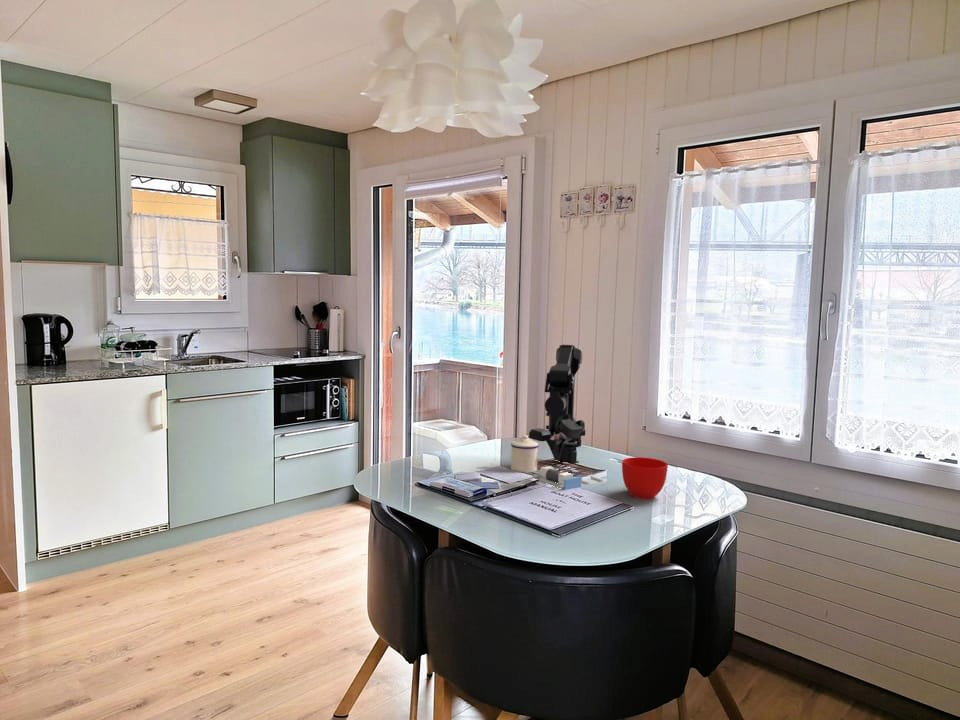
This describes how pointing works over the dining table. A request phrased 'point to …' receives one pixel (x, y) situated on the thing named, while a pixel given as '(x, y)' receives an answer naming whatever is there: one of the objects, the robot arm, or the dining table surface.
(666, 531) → the dining table surface
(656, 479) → the ceramic cup
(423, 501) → the dining table surface
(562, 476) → the cream and grey dumbbell
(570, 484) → the white ribbed plate
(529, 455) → the cream lidded jar
